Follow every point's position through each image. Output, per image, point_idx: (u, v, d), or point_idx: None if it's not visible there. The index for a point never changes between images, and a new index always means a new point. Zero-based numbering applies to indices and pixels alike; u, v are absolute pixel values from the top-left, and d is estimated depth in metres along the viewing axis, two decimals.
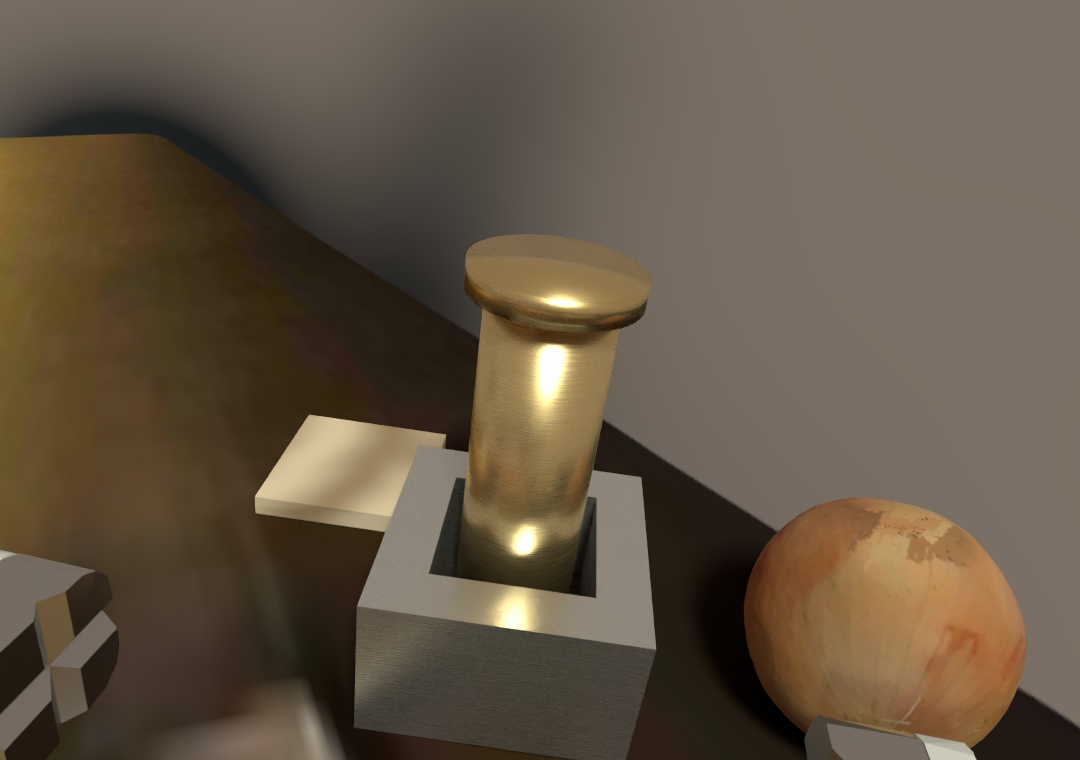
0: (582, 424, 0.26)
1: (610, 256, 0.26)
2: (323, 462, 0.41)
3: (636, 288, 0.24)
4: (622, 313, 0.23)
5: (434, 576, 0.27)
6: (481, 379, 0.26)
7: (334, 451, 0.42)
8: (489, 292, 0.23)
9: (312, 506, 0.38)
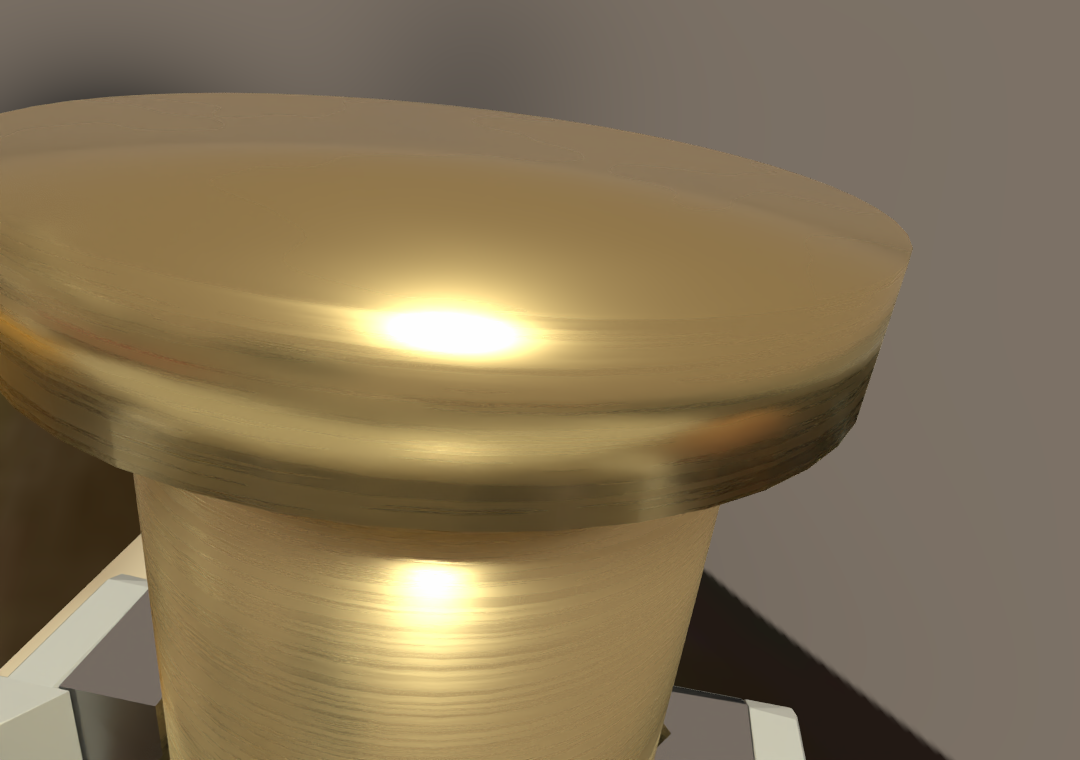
0: None
1: (694, 158, 0.07)
2: None
3: (854, 256, 0.04)
4: (783, 401, 0.04)
5: None
6: None
7: None
8: None
9: None
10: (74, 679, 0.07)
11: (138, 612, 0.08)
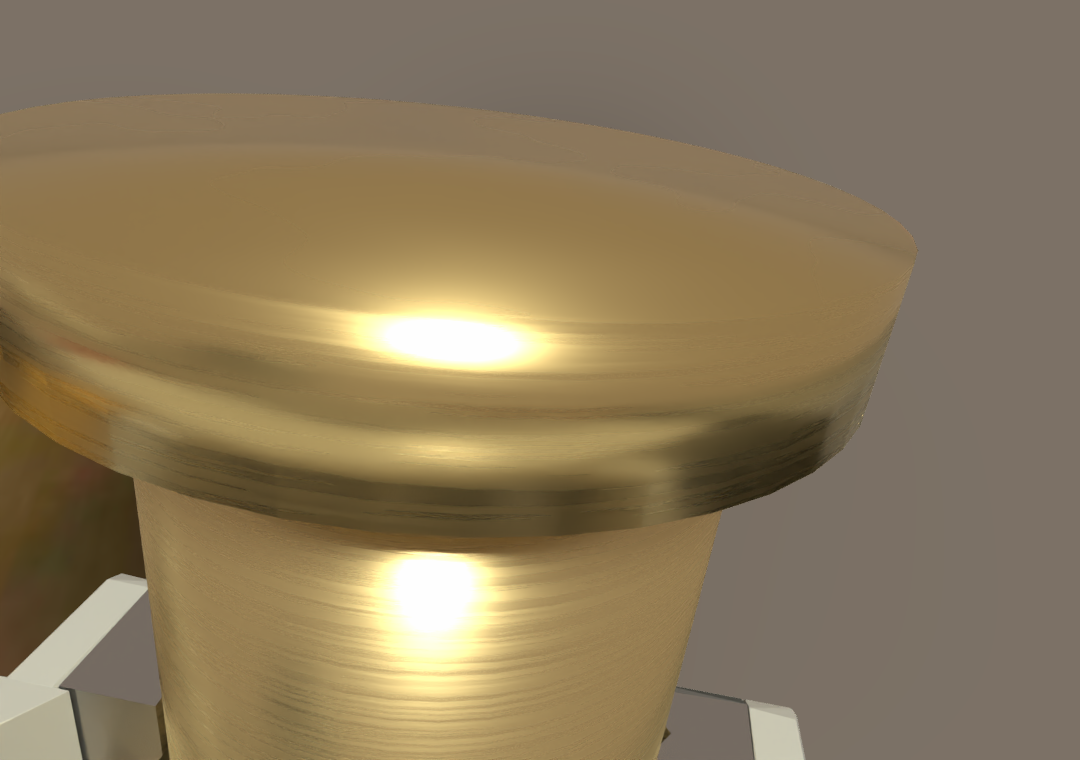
0: None
1: (696, 159, 0.07)
2: None
3: (858, 257, 0.04)
4: (788, 404, 0.04)
5: None
6: None
7: None
8: None
9: None
10: (74, 679, 0.07)
11: (138, 612, 0.08)
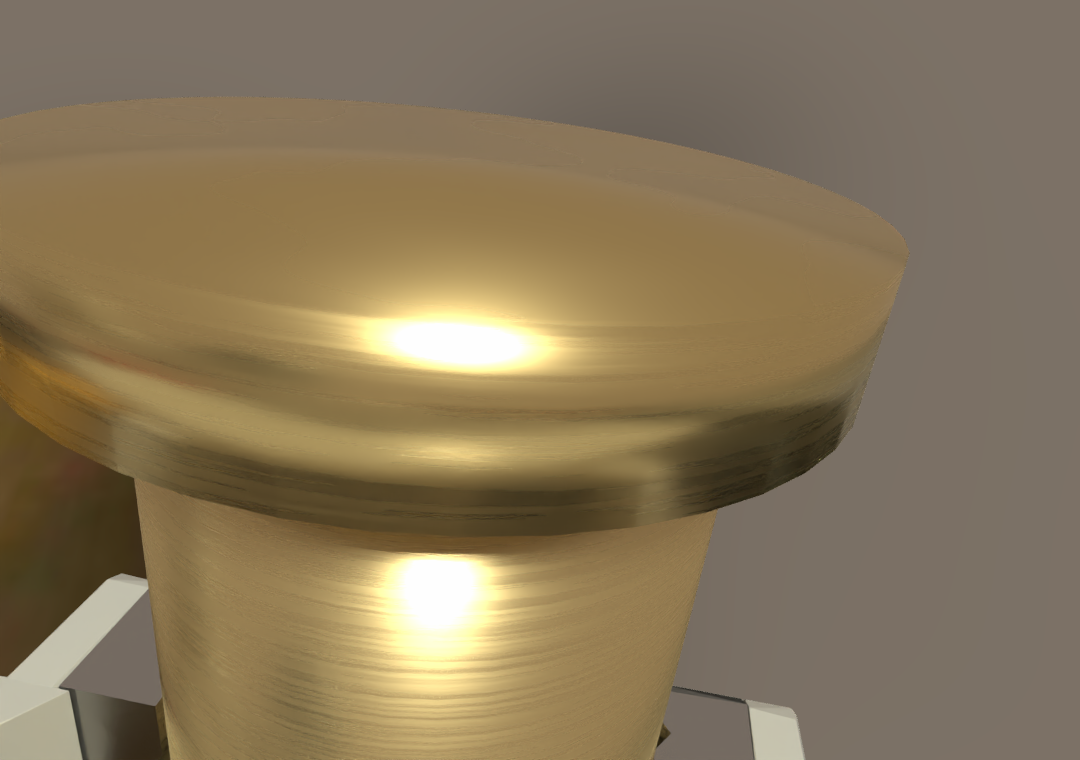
0: None
1: (692, 162, 0.07)
2: None
3: (850, 261, 0.04)
4: (780, 406, 0.04)
5: None
6: None
7: None
8: None
9: None
10: (74, 679, 0.07)
11: (138, 612, 0.08)
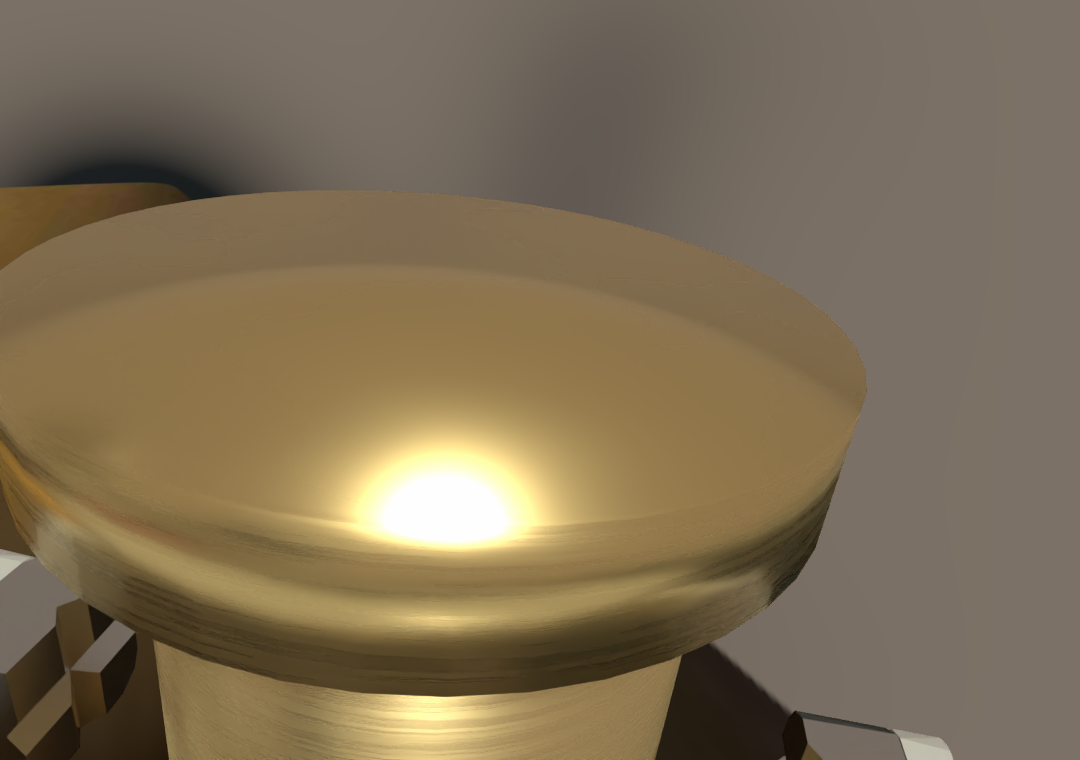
0: None
1: (674, 261, 0.07)
2: None
3: (811, 408, 0.05)
4: (739, 563, 0.04)
5: None
6: None
7: None
8: None
9: None
10: None
11: (6, 585, 0.08)
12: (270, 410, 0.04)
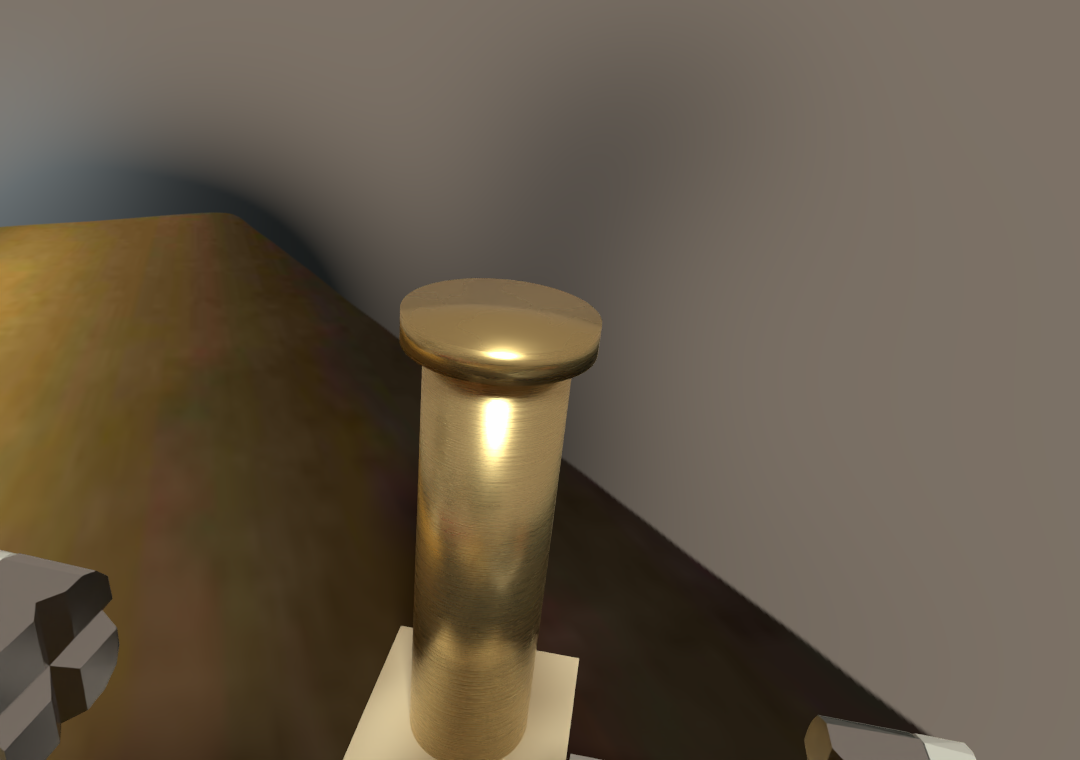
0: (529, 484, 0.24)
1: (564, 301, 0.24)
2: None
3: (580, 337, 0.22)
4: (561, 365, 0.21)
5: None
6: (422, 433, 0.24)
7: None
8: (416, 342, 0.21)
9: None
10: None
11: None
12: (473, 337, 0.21)
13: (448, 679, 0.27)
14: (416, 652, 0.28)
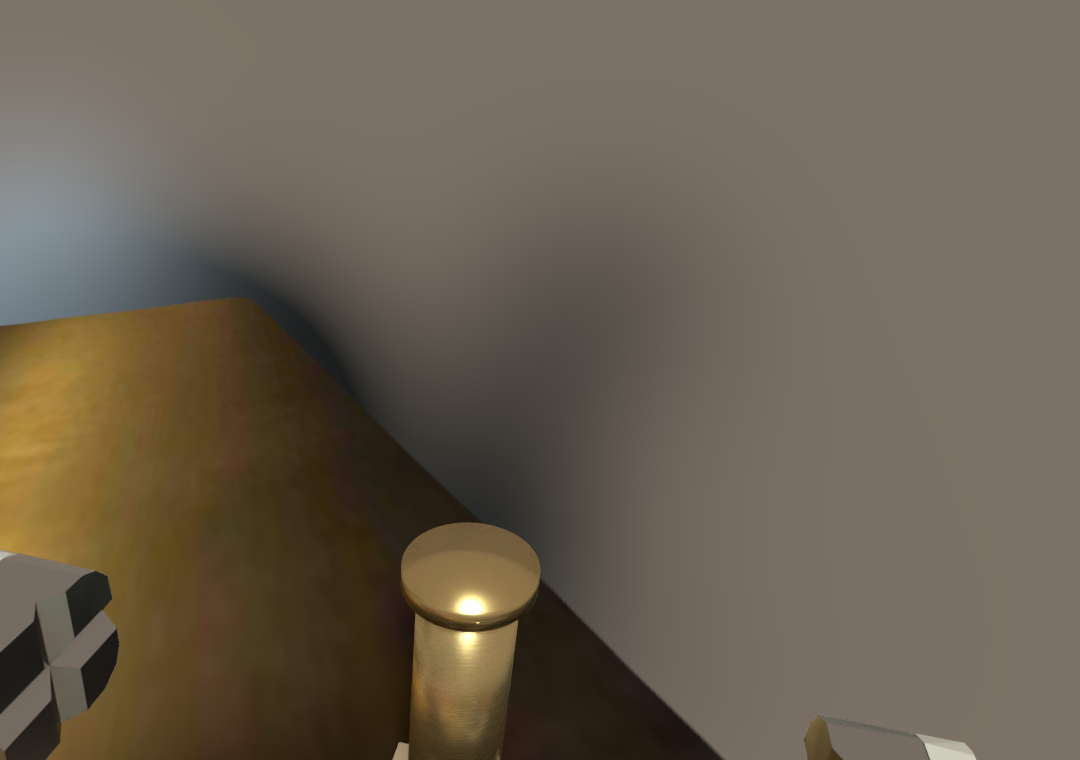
0: (489, 681, 0.34)
1: (516, 549, 0.35)
2: None
3: (522, 592, 0.32)
4: (508, 615, 0.32)
5: None
6: (415, 642, 0.35)
7: None
8: (412, 597, 0.32)
9: None
10: None
11: None
12: (450, 597, 0.32)
13: None
14: None
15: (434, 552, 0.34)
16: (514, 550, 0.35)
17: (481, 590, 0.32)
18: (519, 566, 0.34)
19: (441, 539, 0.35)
